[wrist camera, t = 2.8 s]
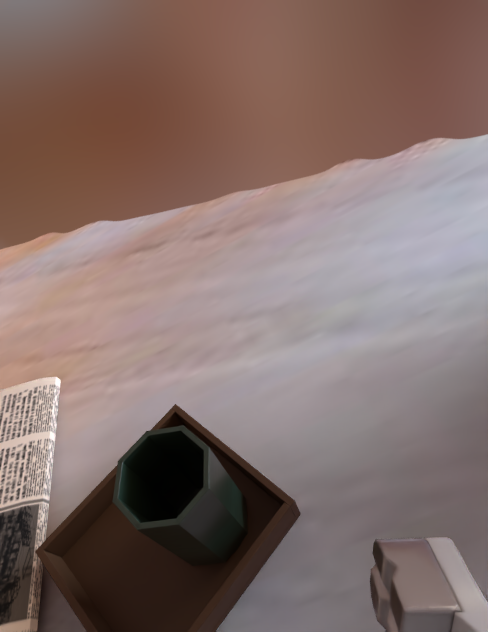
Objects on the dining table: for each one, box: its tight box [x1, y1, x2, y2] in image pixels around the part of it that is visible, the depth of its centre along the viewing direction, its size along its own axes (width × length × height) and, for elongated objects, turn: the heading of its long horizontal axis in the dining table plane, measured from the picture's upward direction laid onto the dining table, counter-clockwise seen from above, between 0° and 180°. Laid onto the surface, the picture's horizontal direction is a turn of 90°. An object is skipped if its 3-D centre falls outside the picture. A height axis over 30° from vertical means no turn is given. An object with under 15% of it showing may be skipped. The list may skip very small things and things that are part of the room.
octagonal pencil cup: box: [112, 425, 248, 566], centre depth 35 cm, size 7×7×12 cm
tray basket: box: [35, 404, 300, 632], centre depth 38 cm, size 17×15×4 cm
